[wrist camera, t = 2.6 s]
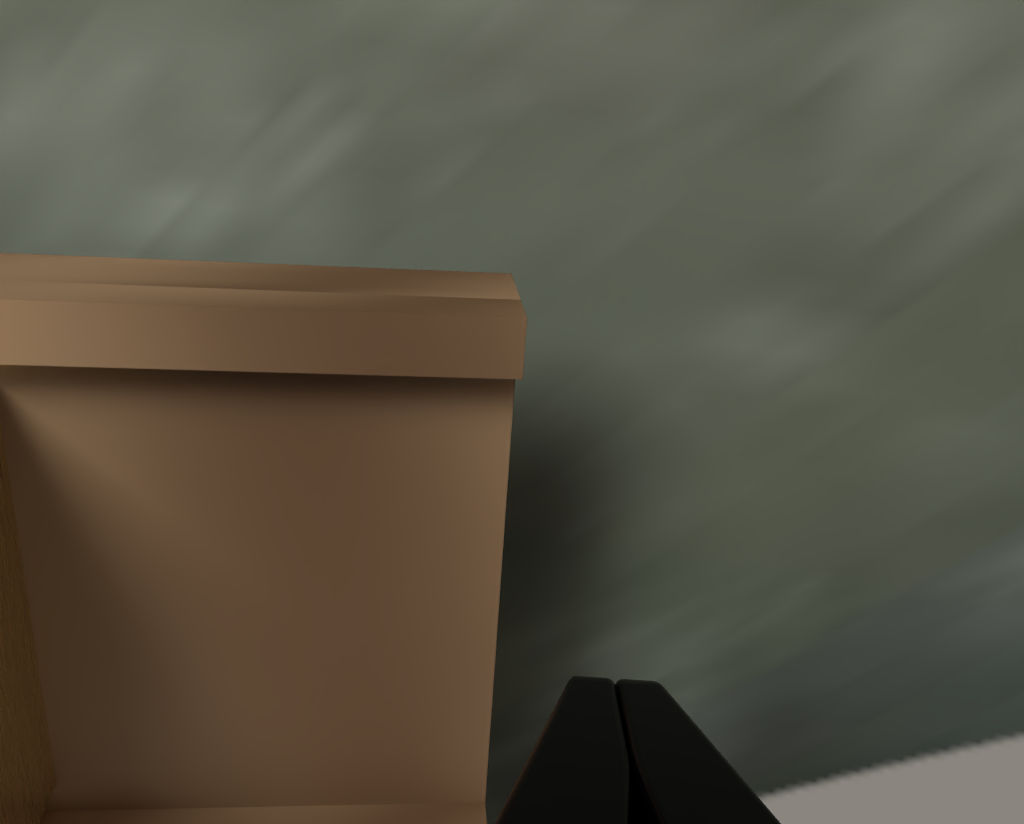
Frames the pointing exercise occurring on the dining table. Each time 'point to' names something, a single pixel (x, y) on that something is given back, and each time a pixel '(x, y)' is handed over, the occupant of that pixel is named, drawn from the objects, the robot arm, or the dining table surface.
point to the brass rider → (19, 683)
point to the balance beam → (260, 533)
